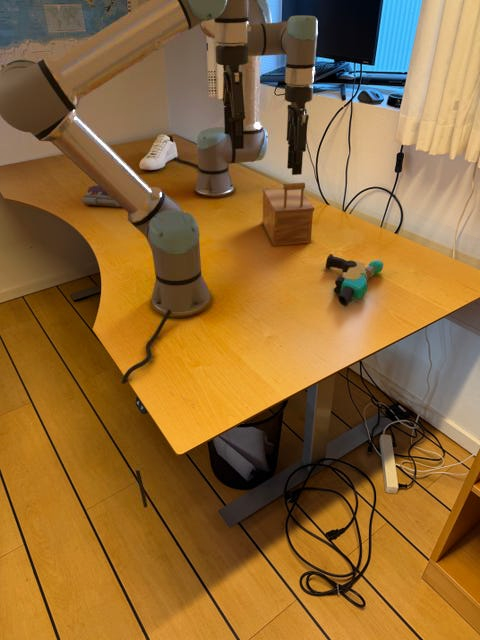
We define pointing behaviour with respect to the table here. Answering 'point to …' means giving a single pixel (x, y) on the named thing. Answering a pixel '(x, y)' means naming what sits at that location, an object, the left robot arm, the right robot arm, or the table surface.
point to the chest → (287, 225)
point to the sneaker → (160, 153)
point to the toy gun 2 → (352, 277)
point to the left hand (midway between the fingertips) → (233, 140)
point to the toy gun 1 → (98, 197)
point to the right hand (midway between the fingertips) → (294, 170)
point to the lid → (288, 199)
